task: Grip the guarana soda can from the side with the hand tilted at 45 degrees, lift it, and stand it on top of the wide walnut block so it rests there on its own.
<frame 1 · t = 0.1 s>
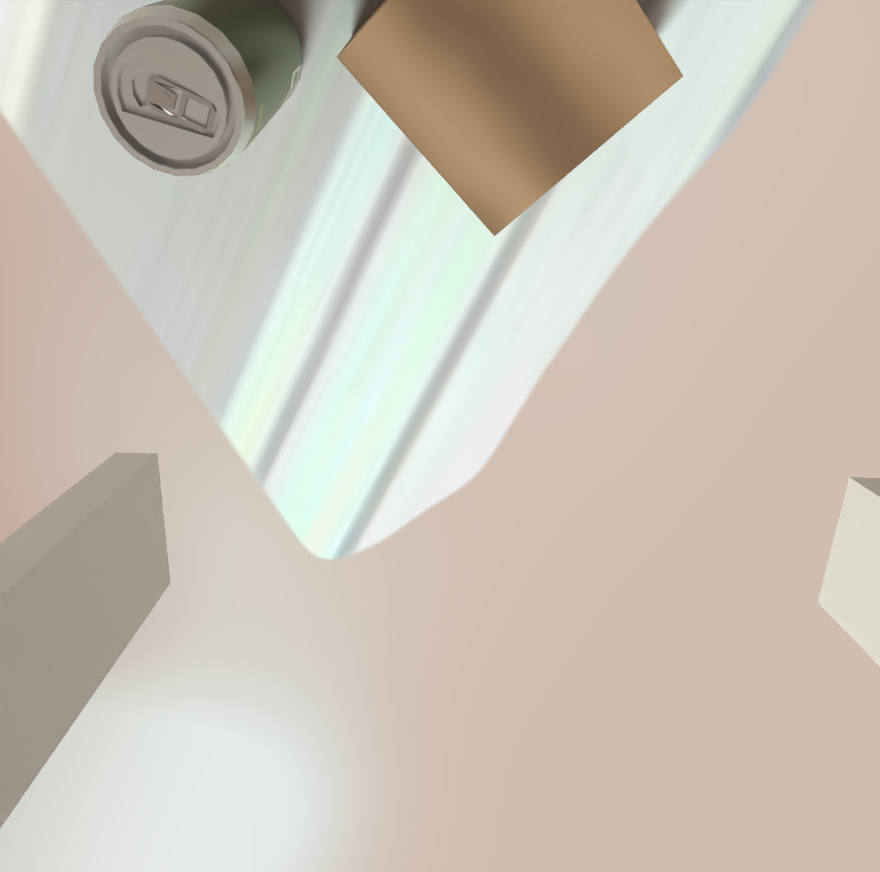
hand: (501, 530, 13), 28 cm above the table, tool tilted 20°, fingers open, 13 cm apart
walnut block: (500, 45, 32), on the table
guarana soda can: (249, 47, 33), on the table
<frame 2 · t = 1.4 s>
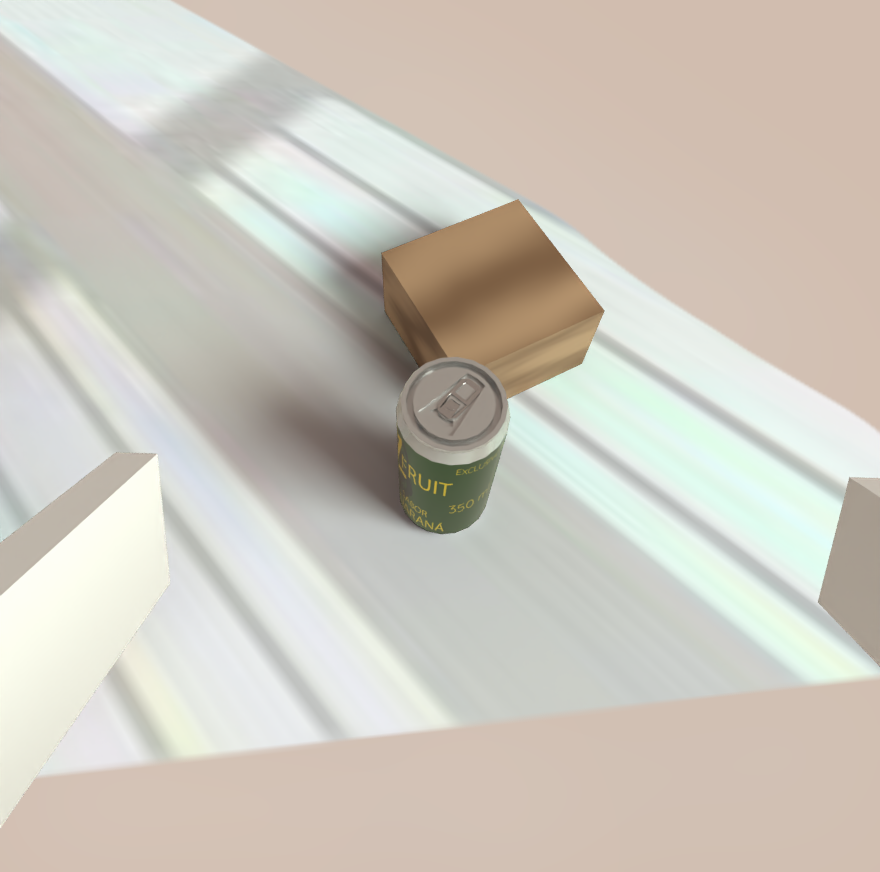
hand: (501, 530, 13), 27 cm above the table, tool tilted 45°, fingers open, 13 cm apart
walnut block: (481, 336, 47), on the table
guarana soda can: (442, 496, 42), on the table
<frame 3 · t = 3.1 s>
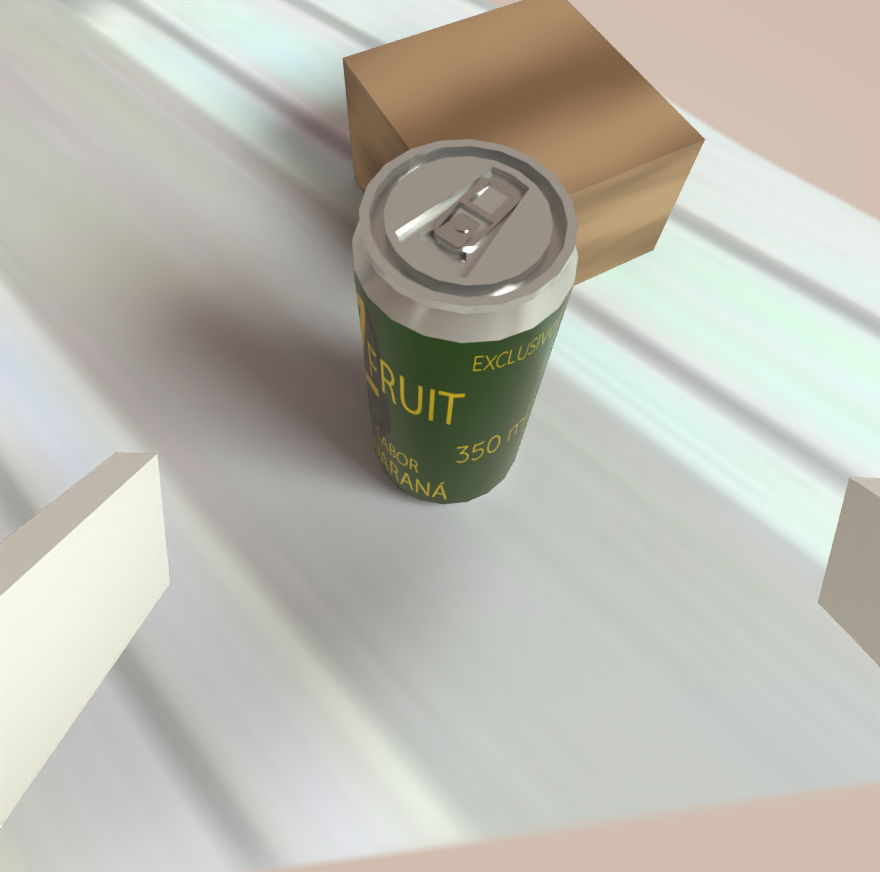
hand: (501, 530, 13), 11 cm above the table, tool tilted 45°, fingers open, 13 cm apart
walnut block: (500, 213, 31), on the table
guarana soda can: (444, 446, 26), on the table
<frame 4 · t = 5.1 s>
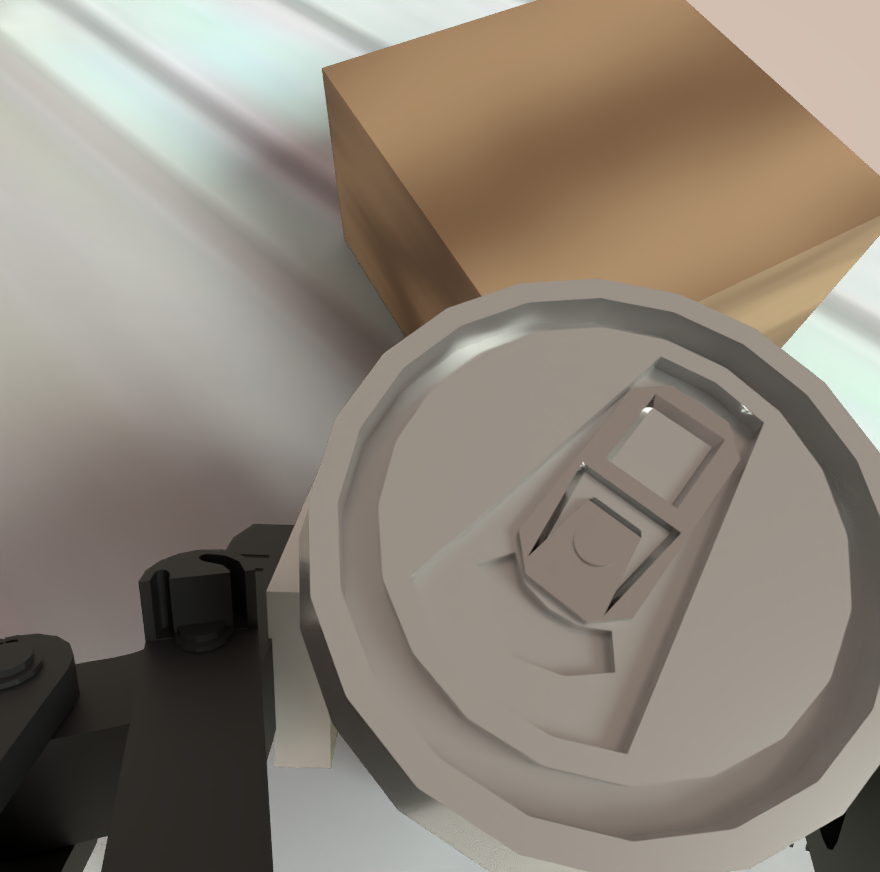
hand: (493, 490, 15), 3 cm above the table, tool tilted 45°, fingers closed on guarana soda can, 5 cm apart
walnut block: (555, 291, 21), on the table
guarana soda can: (480, 686, 16), on the table, touching gripper
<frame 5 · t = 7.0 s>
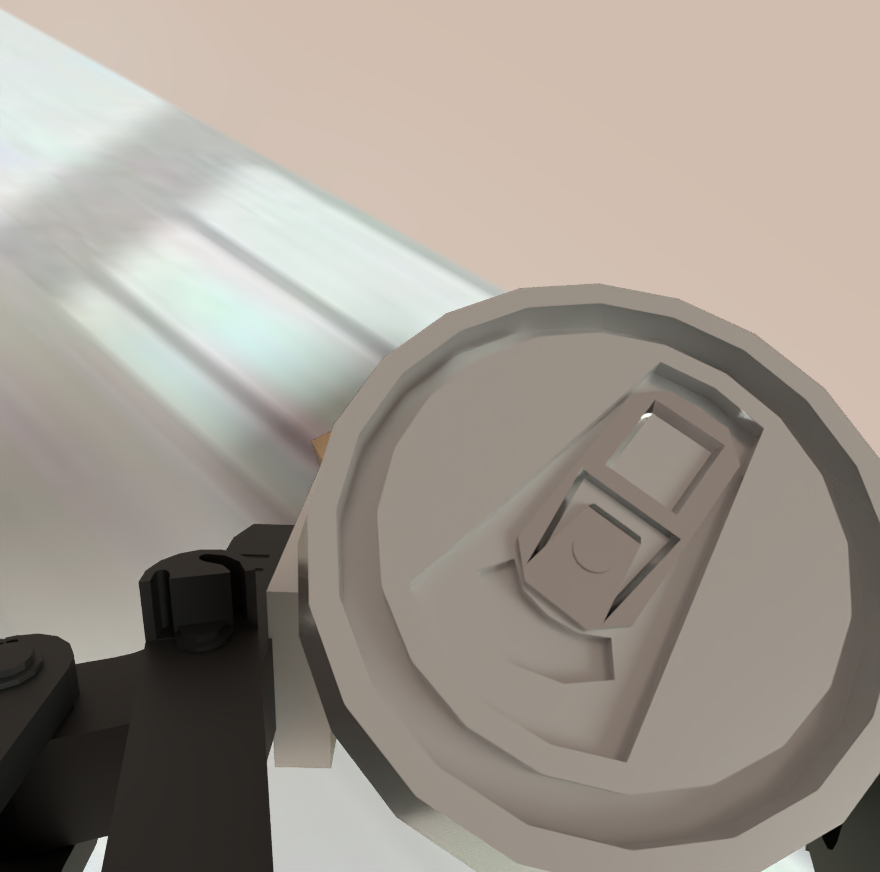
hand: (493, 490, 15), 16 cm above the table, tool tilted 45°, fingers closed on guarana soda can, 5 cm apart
walnut block: (474, 533, 32), on the table
guarana soda can: (479, 688, 16), point 13 cm above the table, touching gripper
when the fingers open (11 cm above the table, at t = 9.1 s): guarana soda can drops 2 cm, resting on walnut block.
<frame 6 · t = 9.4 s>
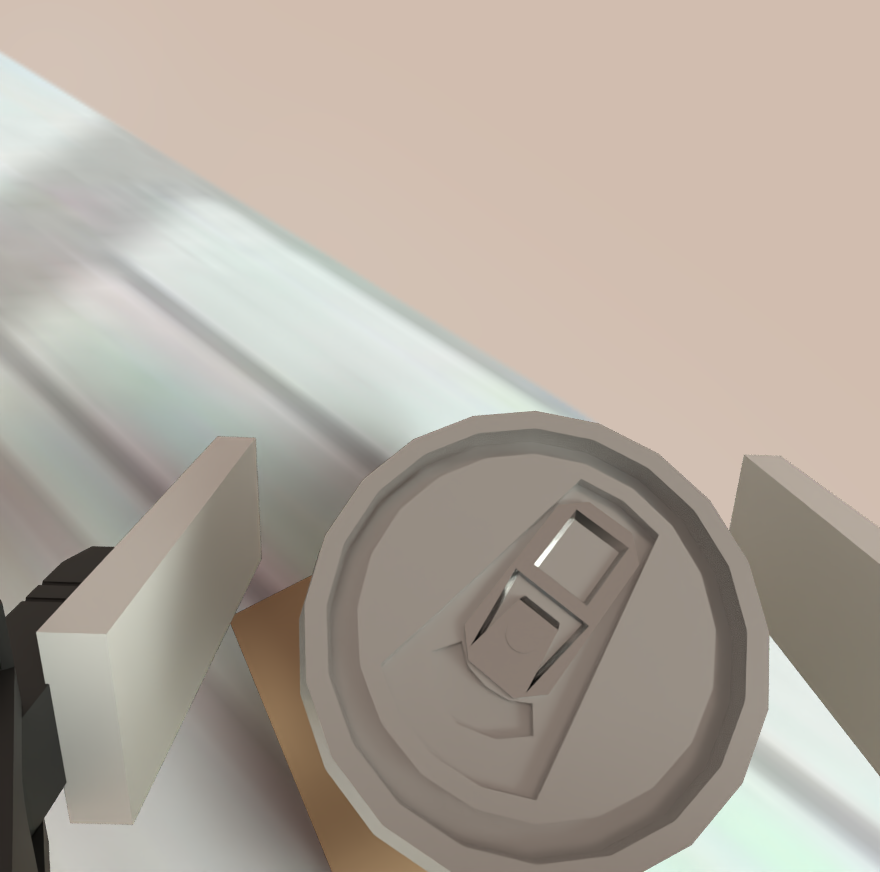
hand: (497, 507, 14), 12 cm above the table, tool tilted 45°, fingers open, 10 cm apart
walnut block: (459, 711, 24), on the table
guarana soda can: (469, 696, 18), point 6 cm above the table, touching walnut block
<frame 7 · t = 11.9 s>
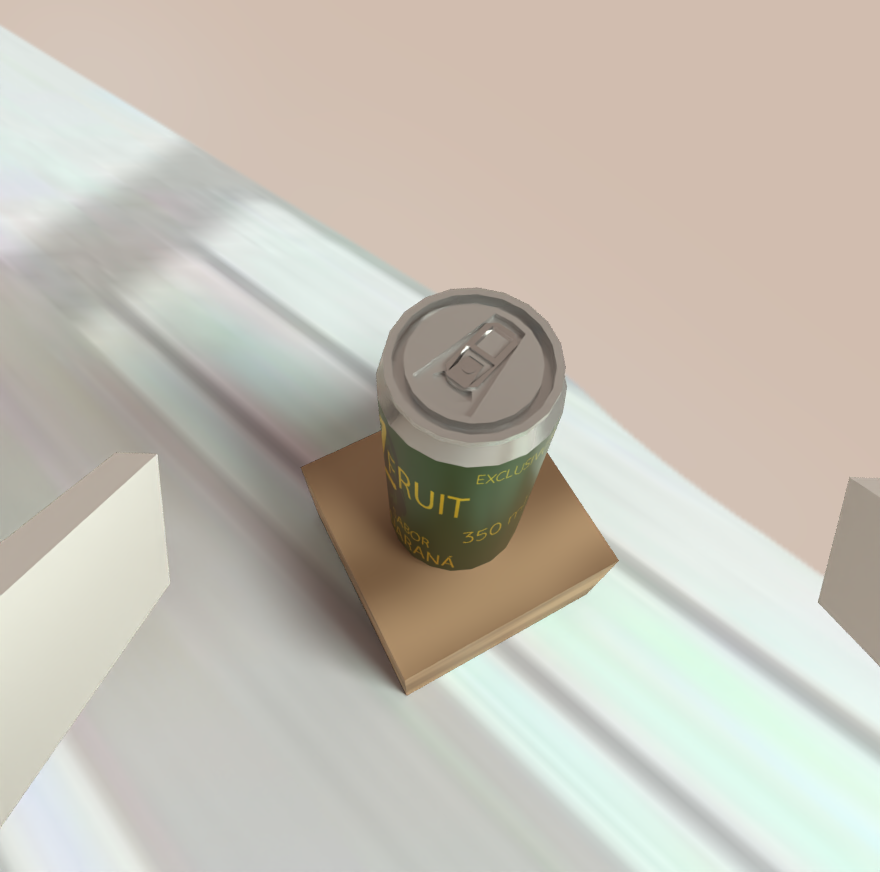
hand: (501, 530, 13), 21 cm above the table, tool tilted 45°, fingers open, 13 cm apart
walnut block: (449, 553, 34), on the table
guarana soda can: (453, 515, 29), point 6 cm above the table, touching walnut block
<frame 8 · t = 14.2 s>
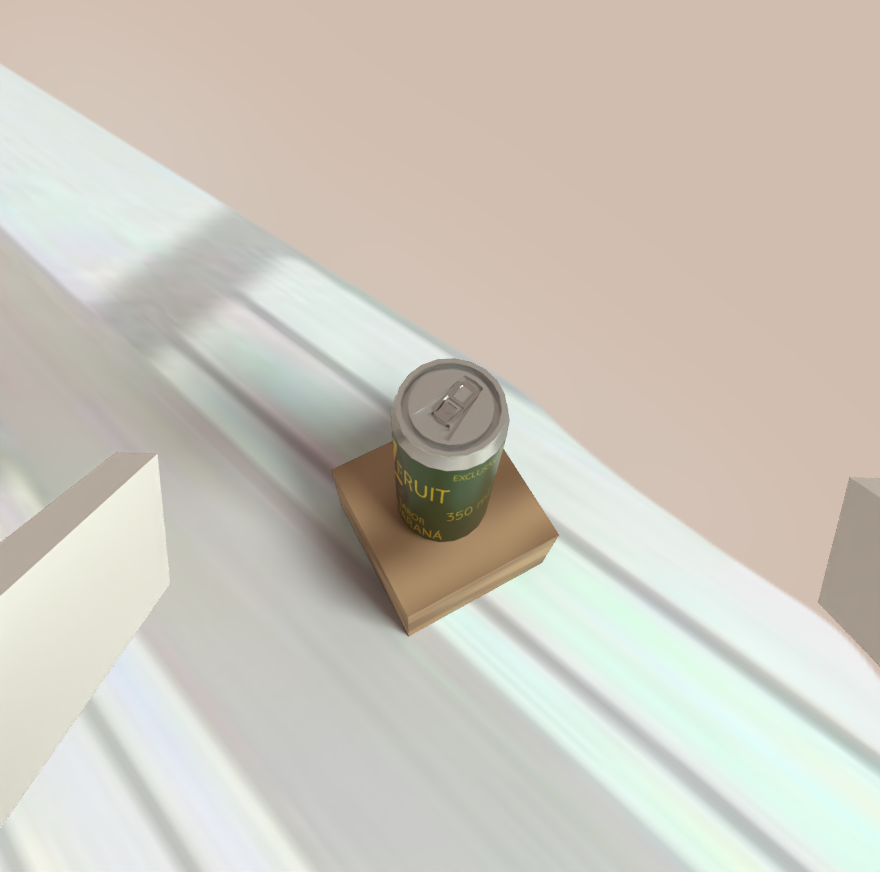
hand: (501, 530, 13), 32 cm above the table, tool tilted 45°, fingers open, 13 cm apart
walnut block: (439, 533, 46), on the table
guarana soda can: (441, 503, 41), point 6 cm above the table, touching walnut block
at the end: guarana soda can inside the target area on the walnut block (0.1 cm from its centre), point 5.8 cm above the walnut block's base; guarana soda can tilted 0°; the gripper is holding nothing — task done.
